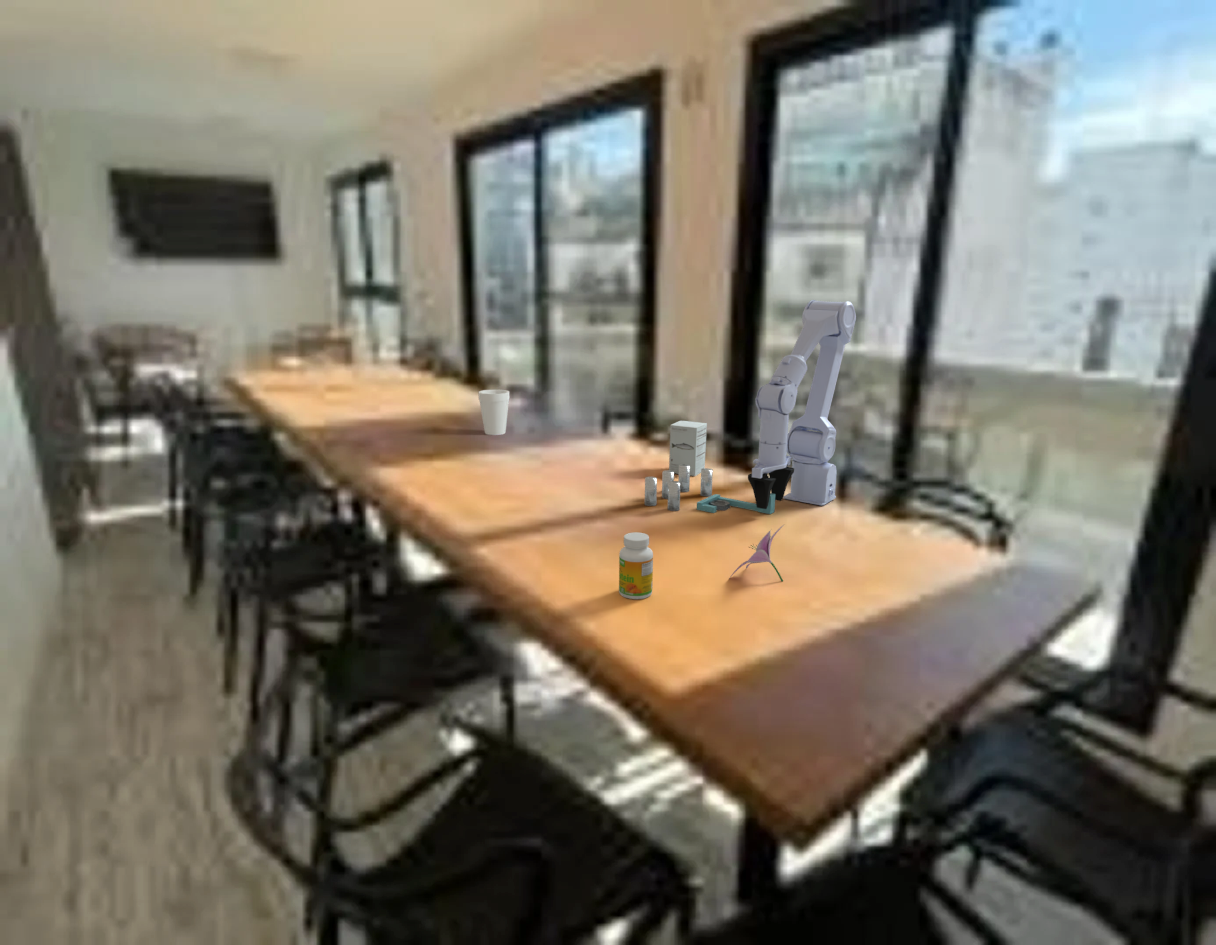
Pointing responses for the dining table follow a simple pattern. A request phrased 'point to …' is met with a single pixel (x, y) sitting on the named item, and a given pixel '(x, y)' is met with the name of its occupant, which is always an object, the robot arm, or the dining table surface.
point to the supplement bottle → (635, 567)
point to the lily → (762, 552)
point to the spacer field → (676, 486)
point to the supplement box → (687, 446)
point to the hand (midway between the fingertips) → (769, 503)
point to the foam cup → (494, 410)
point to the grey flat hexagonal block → (720, 504)
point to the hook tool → (735, 504)
